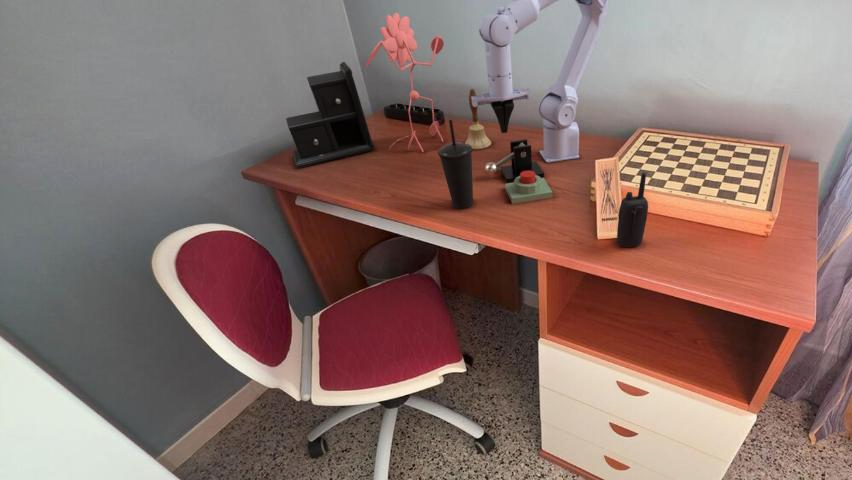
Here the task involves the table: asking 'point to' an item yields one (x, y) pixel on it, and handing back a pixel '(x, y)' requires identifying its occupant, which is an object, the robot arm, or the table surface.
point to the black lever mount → (520, 162)
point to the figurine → (405, 57)
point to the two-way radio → (632, 217)
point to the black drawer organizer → (331, 121)
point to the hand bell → (476, 129)
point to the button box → (528, 190)
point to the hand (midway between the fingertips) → (504, 131)
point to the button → (527, 177)
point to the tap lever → (498, 164)
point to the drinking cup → (458, 171)
